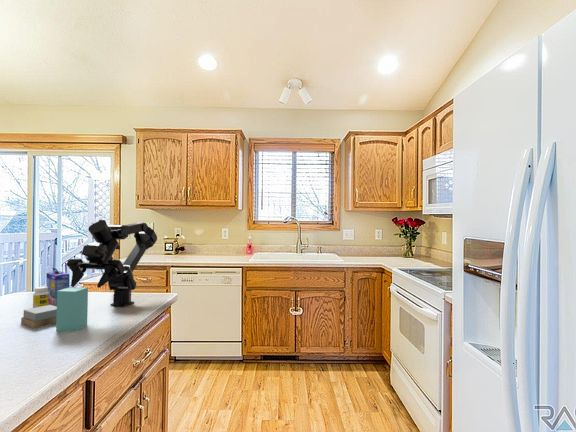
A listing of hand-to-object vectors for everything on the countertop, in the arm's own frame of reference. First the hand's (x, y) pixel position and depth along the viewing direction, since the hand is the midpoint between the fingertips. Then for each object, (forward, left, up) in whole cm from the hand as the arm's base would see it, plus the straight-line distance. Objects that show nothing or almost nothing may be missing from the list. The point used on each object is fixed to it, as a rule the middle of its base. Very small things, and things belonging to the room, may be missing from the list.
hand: (85, 286), depth 114 cm
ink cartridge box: (-18, -31, -12) cm, 38 cm away
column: (+6, +1, -12) cm, 13 cm away
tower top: (+4, -13, -10) cm, 17 cm away
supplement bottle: (-8, -28, -12) cm, 32 cm away
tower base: (+4, -13, -13) cm, 18 cm away
